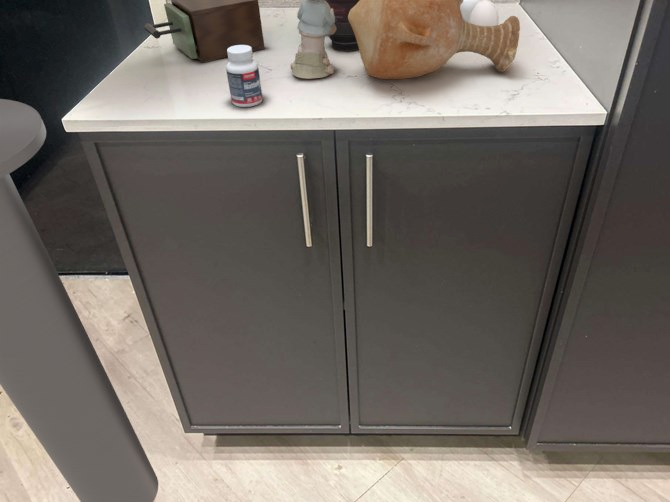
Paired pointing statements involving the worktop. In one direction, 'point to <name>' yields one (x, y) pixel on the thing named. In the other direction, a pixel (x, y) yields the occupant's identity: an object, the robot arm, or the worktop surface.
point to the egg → (484, 14)
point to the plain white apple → (468, 8)
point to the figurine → (313, 39)
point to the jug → (425, 36)
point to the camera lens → (343, 25)
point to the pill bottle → (243, 76)
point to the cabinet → (223, 25)
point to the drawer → (177, 30)
